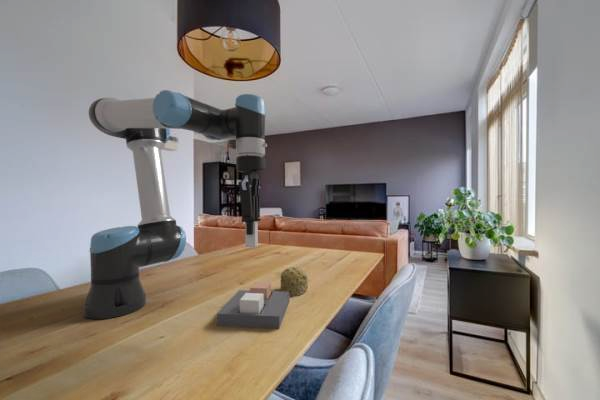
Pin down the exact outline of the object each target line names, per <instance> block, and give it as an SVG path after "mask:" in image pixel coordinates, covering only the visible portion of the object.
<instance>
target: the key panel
mask: <svg viewBox="0 0 600 400" xmlns="http://www.w3.org/2000/svg"><path fill="white" fill-rule="evenodd" d="M245 293H250V289H249V290H243V289H238V291H237V292H235V294H234V295H233V296H232V297H231V298H230V299H229V300H228V301H227V302H226V303H225V305H223V307H221V309H220V310H219V311H218V312H216V326H219V327H240V328H241V327H243V328H259V329H260V328H262V329H263V328H264V329H280V328H281V325H282V322H283V320H284V317H285V314H286V312H287V309H288V307H289V306H288V305H289V303H290V296H289V292H281V290H280V291H278V290H277V291H276V290H275V291H274V290H271V295H270V297H269V298H268V300H264V307H263V308H262V310H261V312H260V313H259V314H254V313H240V299H241V298H242V297H243V296H244V294H245Z"/></svg>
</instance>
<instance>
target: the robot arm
mask: <svg viewBox="0 0 600 400" xmlns="http://www.w3.org/2000/svg"><path fill="white" fill-rule="evenodd" d="M234 105H235V106H234V107H231V108H227V109H220V108H217V107H215V106H213V105H209V104H207V103H205V102H202V101H200V100H197V99H193V98H191V97H189V96H186V95H184V94H182V93H181V92H176V91H172V90H168V89H164V90H161V91H159V93H158V94H156V95H155V97H152V98H151V97H150V98H137V99H135V98H134V99H124V100H121V99H118V98H115V97H103V98H98V99H96V100H94V101H93V102H92V103H91V104H90V106H89V108H88V117H89V118H88V119H89V120H90V123H91V124H92V125H93V127H95V128H96V129H97V130H99V131H100V132H101V133H104V134H106V135H108V136H110V137H114V138H119V139H123V140H125V143H126V147H127V148H128V150H130V151H132V157H133V164H134V169H135V177H136V178H135V179H136V185H137V193H138V201H139V208H140V215H141V220H140V221H139V223H138V224H137V226H136V225H127V226H125V225H124V226H119V227H118V226H117V227H113V228H108V229H104V230H99V231H97V232H95V233H94V234H93V235H92V236H91V239H90V246H89V247H90V248H89V253H90V254H89V257H90V258H89V259H90V288H89V289H88V293H87V297H86V300H85V303H84V304H83V308H82V309H83V310H82V312H83V317H85V318H86V319H90V320H105V319H106V320H107V319H112V318H116V317H120V316H121V317H122V316H124V315H128V314H130V313H133V312H136V311H139V310H140V309H141V308H143V307H144V306H146V305H147V294H146V293H145V290H144V288H143V284H142V282H141V279H140V268H143V267H146V266H151V265H156V264H160V263H166V262H170V261H172V260H176V259H178V258H179V257H180V256H181V255H182V254H183V252H184V251H185V248H186V244H187V235H186V232H185V230H184V229H183V228H182V226H179V225H177V220H176V219H175V218H174V217H172V216H171V212H170V205H169V199H168V192H167V185H166V177H165V172H164V171H165V170H164V164H163V157H162V150H163V149H164V148H165V145H166V143H168V140H169V139H170V136H169V135H170V134H171V129H173V130H174V129H175V130H176V129H177V130H179V129H180V130H187V131H191V132H195V133H198V134H202V136H204V137H205V138H206V139H208V140H211V141H215V140H217V141H222V140H225V139H231V138H235V154H236V156H237V157H236V159H235V160H236V162H235V164H236V165H235V170H236V171H237V172H239V173H242V178H241V181H238V188H239V195H240V210H241V222H242V223H244V225H245V226H244V228H245V229H244V233H245V239H244V240H245V241H244V242H245V243H244V245H245V248H257V247H259V246H258V244H259V237H258V236H259V235H258V234H259V231H258V229H259V228H258V227H259V226H258V225H259V224H258V222H261V221H262V218H260V217H261V214H260V213H261V199H262V197H261V193H262V183H261V179H260V178H259V173H264V172H265V171H266V158H265V156H266V148H267V147H268V143H266V135H265V133H266V110H265V109H266V108H265V101H264V99H263V98H262V97H260V96H259V95H256V94H251V93H243V94H240V95H237V97H236V98H235V103H234Z"/></svg>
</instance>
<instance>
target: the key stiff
mask: <svg viewBox="0 0 600 400" xmlns="http://www.w3.org/2000/svg"><path fill="white" fill-rule="evenodd" d="M271 283H272V282H257V281H256V282H254V283H253V284H252V285H251V286H250V288H249V291H250V293H263V294H264V300H268V298H269V297H270V295H271V291H272V284H271Z"/></svg>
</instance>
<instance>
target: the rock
mask: <svg viewBox="0 0 600 400" xmlns="http://www.w3.org/2000/svg"><path fill="white" fill-rule="evenodd" d="M308 285H309V284H308V275H307V273H306V271H305V270H304V269H303V268H301V267H297V266H290V267H288V268H285V269H284V270H283V271H282V272H281V274H280V292H289V297H296V296H297V297H298V296H301V295H303V294H304V293H306V292H307V290H308V287H309V286H308Z"/></svg>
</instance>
